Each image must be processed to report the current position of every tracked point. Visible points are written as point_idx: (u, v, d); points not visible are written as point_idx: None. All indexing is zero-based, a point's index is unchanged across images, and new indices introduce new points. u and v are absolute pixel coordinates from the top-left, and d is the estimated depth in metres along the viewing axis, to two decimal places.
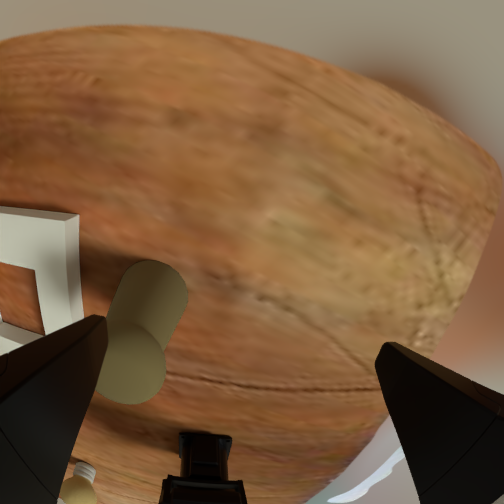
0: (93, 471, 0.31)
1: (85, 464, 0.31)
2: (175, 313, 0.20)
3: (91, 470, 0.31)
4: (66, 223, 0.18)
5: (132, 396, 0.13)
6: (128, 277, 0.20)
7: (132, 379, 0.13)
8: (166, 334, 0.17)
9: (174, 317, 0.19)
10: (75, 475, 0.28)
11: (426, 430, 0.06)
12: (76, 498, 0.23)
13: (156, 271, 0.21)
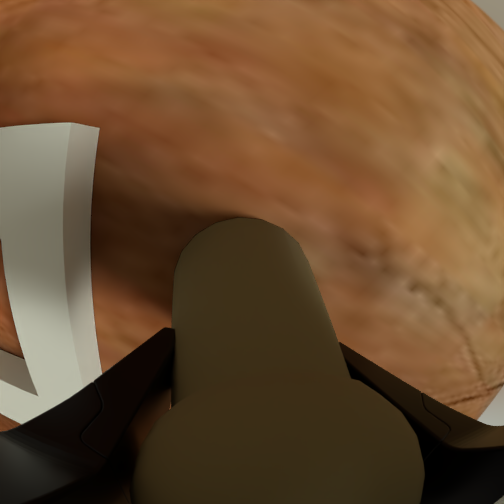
0: None
1: None
2: None
3: None
4: (73, 129, 0.08)
5: None
6: (211, 248, 0.10)
7: None
8: None
9: None
10: None
11: None
12: None
13: (271, 236, 0.10)
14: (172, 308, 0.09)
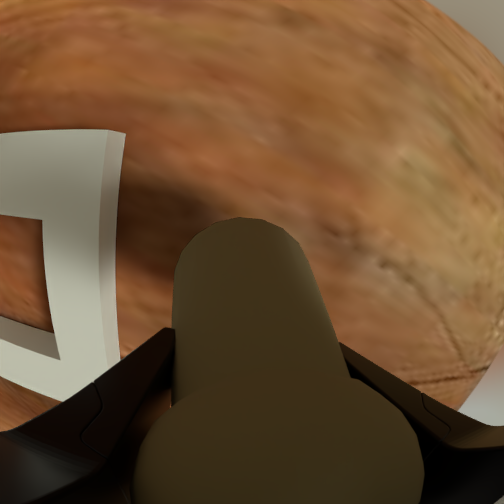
0: None
1: None
2: None
3: None
4: (109, 135, 0.11)
5: None
6: (211, 248, 0.10)
7: None
8: None
9: None
10: None
11: None
12: None
13: (271, 236, 0.10)
14: (172, 308, 0.09)
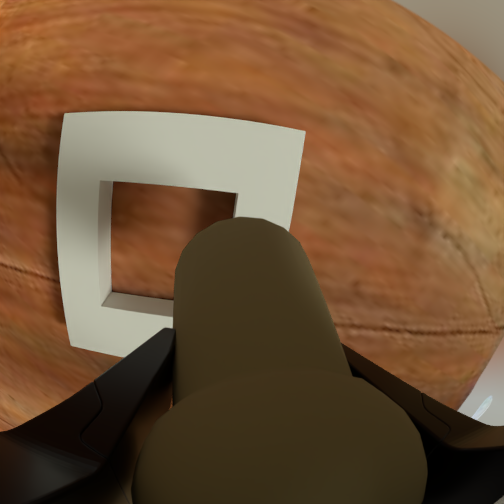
0: None
1: None
2: None
3: None
4: (304, 135, 0.17)
5: None
6: (212, 247, 0.10)
7: None
8: None
9: None
10: None
11: None
12: None
13: (273, 235, 0.10)
14: (173, 307, 0.09)
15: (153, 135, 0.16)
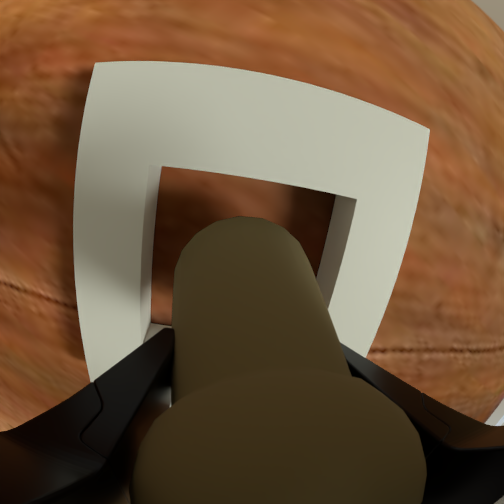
0: None
1: None
2: None
3: None
4: (426, 133, 0.12)
5: None
6: (211, 246, 0.10)
7: None
8: None
9: None
10: None
11: None
12: None
13: (272, 234, 0.10)
14: (172, 307, 0.09)
15: (242, 102, 0.10)
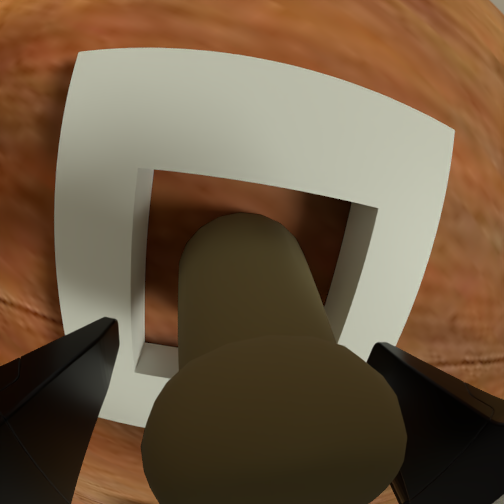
0: None
1: None
2: None
3: None
4: (451, 134, 0.10)
5: None
6: (214, 239, 0.10)
7: (359, 501, 0.03)
8: None
9: None
10: None
11: (417, 433, 0.06)
12: None
13: (270, 229, 0.11)
14: (178, 293, 0.10)
15: (247, 94, 0.09)
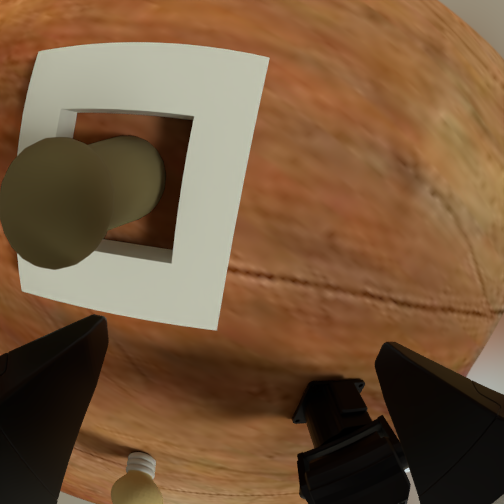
0: (154, 463, 0.27)
1: (144, 454, 0.27)
2: (144, 179, 0.14)
3: (152, 462, 0.27)
4: (268, 61, 0.14)
5: (51, 240, 0.08)
6: None
7: (54, 198, 0.08)
8: (125, 187, 0.12)
9: (142, 181, 0.14)
10: (131, 471, 0.25)
11: (426, 430, 0.06)
12: (140, 503, 0.20)
13: (130, 139, 0.16)
14: None
15: (115, 63, 0.13)
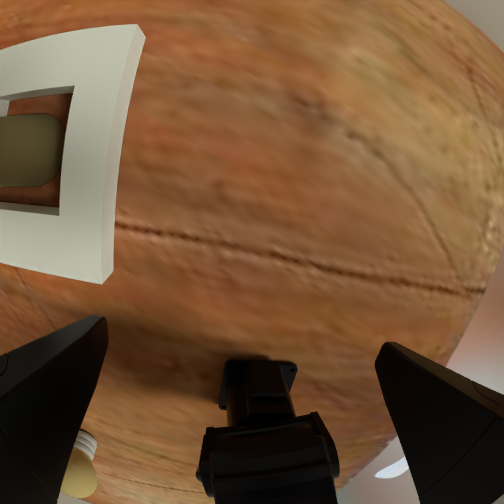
0: (94, 443, 0.26)
1: (84, 433, 0.26)
2: (34, 141, 0.13)
3: (91, 441, 0.25)
4: (136, 28, 0.13)
5: None
6: None
7: None
8: (8, 144, 0.11)
9: (30, 142, 0.13)
10: None
11: (426, 430, 0.06)
12: (68, 477, 0.18)
13: (36, 114, 0.15)
14: None
15: (27, 56, 0.12)
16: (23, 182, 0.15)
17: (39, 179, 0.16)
